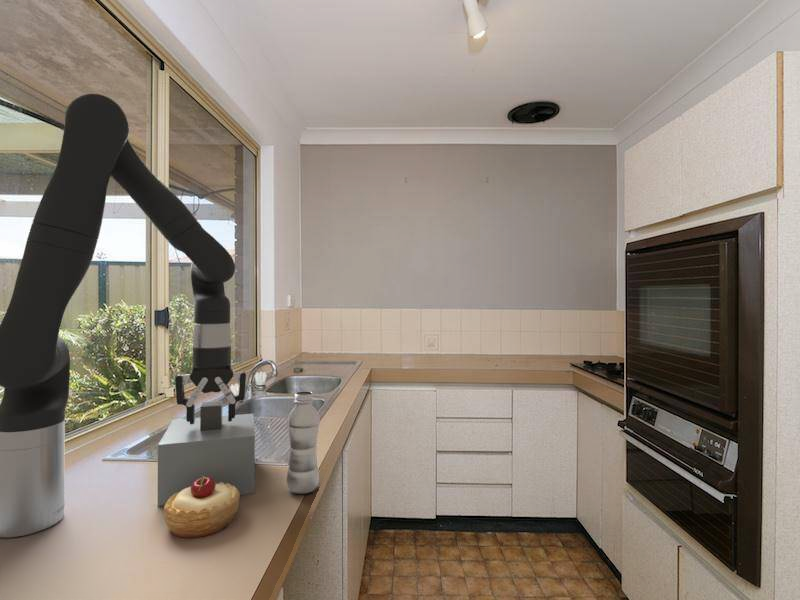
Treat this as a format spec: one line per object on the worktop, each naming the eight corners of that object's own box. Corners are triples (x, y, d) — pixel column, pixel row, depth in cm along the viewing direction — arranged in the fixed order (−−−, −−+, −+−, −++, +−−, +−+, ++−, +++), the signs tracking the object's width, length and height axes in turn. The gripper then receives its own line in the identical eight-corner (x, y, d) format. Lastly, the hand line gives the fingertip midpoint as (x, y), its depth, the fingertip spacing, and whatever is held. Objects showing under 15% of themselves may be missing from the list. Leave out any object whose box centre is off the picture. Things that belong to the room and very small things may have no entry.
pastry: (235, 504, 82) (237, 458, 83) (241, 534, 72) (243, 480, 72) (165, 515, 77) (167, 465, 77) (159, 549, 66) (162, 491, 67)
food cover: (157, 506, 80) (158, 418, 80) (172, 470, 96) (173, 397, 96) (254, 493, 86) (255, 411, 86) (253, 461, 102) (253, 392, 102)
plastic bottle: (305, 480, 92) (306, 388, 92) (325, 490, 87) (326, 393, 87) (279, 491, 87) (280, 393, 87) (300, 501, 82) (301, 398, 82)
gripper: (171, 347, 85) (170, 430, 85) (248, 345, 90) (247, 424, 90) (177, 343, 92) (176, 420, 92) (248, 341, 97) (247, 414, 97)
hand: (211, 421), depth 91 cm, fingers open, 7 cm apart
